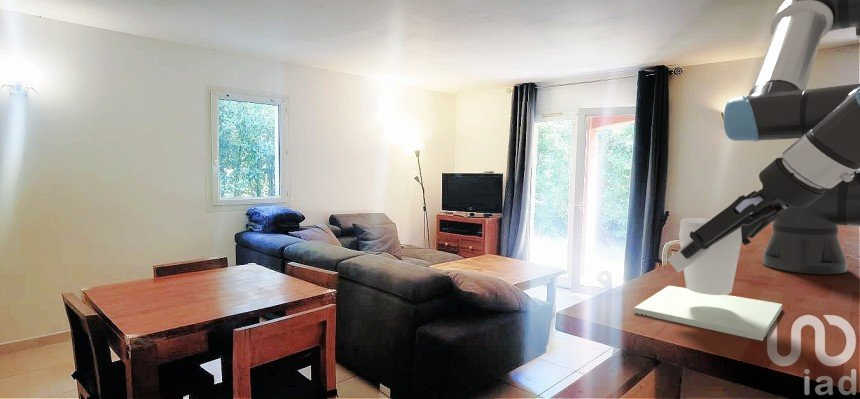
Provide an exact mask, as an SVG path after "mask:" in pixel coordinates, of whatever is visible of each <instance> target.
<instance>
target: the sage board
mask: <svg viewBox="0 0 860 399" xmlns="http://www.w3.org/2000/svg"><path fill="white" fill-rule="evenodd" d="M782 310H783V304H782V303H777V302H772V301H766V300H761V299H753V298H748V297H742V296H735V295H730V294H726V295H709V294H702V293H697V292H694V291H691V290H689V289H688V288H687V287H680V286H674V285H667V286H665V287H664V288H663V289H661V290H660V291H658V292H656V293H655V294H653V295H652V296H650V297H649V298H646V299H645V300H644V301H642V302H640V303H639V304H638V305H635V306H634V307H633V312H634V313H633V314H636V313H638V314H637V315H641V314H643V315H642V316H645V315H647V316H646V317H650V316H651V317H650V318H655V319H660V320H664V321H668V322H673V323H679V324H683V325H687V326H692V327H696V328H701V329H706V330H711V331H715V332H720V333H725V334H727V335H728V334H729V335H734V336H738V337H742V338H747V339H752V340H756V341H761V342H763V341H764V339H765V338H766V336H767V335H768V333H769V331H770V330H771V328H772V327H771V326H773V325H774V323H775V322H776V320H777V319H778V317H779V316H780V313H781V312H782ZM774 321H775V322H774ZM772 324H773V325H772ZM770 327H771V328H770ZM769 329H770V330H769ZM768 330H769V331H768ZM767 332H768V333H767ZM766 334H767V335H766ZM764 337H765V338H764Z"/></svg>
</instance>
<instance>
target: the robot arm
mask: <svg viewBox="0 0 860 399" xmlns="http://www.w3.org/2000/svg"><path fill="white" fill-rule="evenodd" d="M849 28H855V37H856V38H857V39H859V40H860V0H785V1H784V2H782V4H781V5H780V6H779V7H778V9H777V10H776V12H775V14H774V15H773V18H772V21H771V23H770V33H771V38H770V40H769V43H768V46H767V47H766V51H765V54H764V55H763V58H762V61H761V63H760V66H759V68H758V71H757V73H756V75H755V78H754V81H753V83H752V86H751V88H750V90H749V93H748V95H746V94H745V95H742V96H739V97H732V98H731V99H729V100H728V101H727V102H726V104H725V107H724V110H723V126H724V132H725V134H726V136H727V138H728V139H730V140H731V141H734V142H735V141H737V142H738V141H740V142H741V141H753V142H759V141H777V140H790V139H791V140H792V139H797V140H796V141H795V142H793V143H792V144H791V145H790V146H789V147H788V148H786V149H785V150H784V151H782V155H781V156H782V157H777V158H775V159H774V160H773V161H772V162H771V163H770V164H768V165H767V166H765V168H763V169H762V170H761V171H760V173H759V175H758V178H759V181H760V183H761V185H762V188H761V189H759V190H758V191H756V190H753V191H751V192H750V193H749V194H747V195H744V194H743V195H740V196H738V198H737V199H735V200H734V201H733V202H732V203H731V204H730V205H728V206H727V207H726V208H724V209H723V210H722V211H721V212H719V213H718V214H717V215H715V216H714V217H711V218H712V219H711V220H710V221H708V222H707V223H705V224H704V225H703V226H701V227H700V228H699V229H697V230H696V231H695V232H693V231H692V232H690V236H689V237H690V238H691V240H690V241H689V242H688V243H686V244H685V245H684V246H683V247H682V248H681V247H680V248H679V249H678V250H676V252H674V253H673V254H672V255H671V256H669V257H668V258H667V261H668V262H669V263H670V265H671V266H672V268H674V270H675V271H676V273H681V272H682V271H684V269H685V268H686V267H687V266H689V265H690V264H691V263H692V262H694V261H695V260H696V259H698V258H699V257H700V256H701V255H703V254H704V253H705V252H706V251H708V250H709V249H708V248H709V247H710V246H711V245H713V244H715V243H716V242H718V241H719V240H721V239H723V238H724V237H726V236H727V235H729V234H731V233H732V232H734V231H735V230H737V229H739V228H740V227H741V234H742V243H741V244H743V245H744V246H747V245H750V243H752V241H751V240H750V239H752V238H755V237H756V236H757V235H758V234H759V233H760V232H762V231H763V230H764V229H765V228H766V227H768V226H769V225H770V224H771V223H772V233H771V236H770V238H769V240H768V242H767V245H766V247H765V249H764V251H763V254H762V264H763V265H764V266H766V267H769V268H772V269H775V270H779V271H780V270H781V271H787V272H791V273H799V274H809V275H841V274H845V273H847V270H848V261H847V259H846V258H847V257H846V256H845V253H844V250H843V247H842V244H841V243H840V240H839V236H838V235H839V232H838V231H839V226H845V227H848V226H849V227H860V83H854V84H844V85H837V86H827V87H818V88H808V89H807V86H808V85H809V84H808V83H809V80H810V76H811V73H812V70H813V67H814V64H815V60H816V57H817V54H818V51H819V46H820V44H821V41H822V39H823V38H824V37H825V36H826V35H827V34H828V33H829V32H832V31H838V30H844V29H849Z"/></svg>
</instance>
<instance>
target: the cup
mask: <svg viewBox="0 0 860 399" xmlns="http://www.w3.org/2000/svg"><path fill="white" fill-rule="evenodd" d="M712 218H713V217H686V218H681V219H680V224H679V225H680V227H679V235H678V239H679V244H680V245H679V246H680V248H682V247H683V246H684V245H685V244H686V243H688V242H689V241H690V240H691V238H690V237H689V236H690V232H692V231H693V232H695V231H696V230H697V229H699V228H700V227H701V226H703V225H704V224H705V223H707V222H708V221H710V220H711V219H712ZM742 244H743V243H742V234H741V227H740V228H739V229H737V230H735V231H734V232H732V233H731V234H729V235H727V236H726V237H724V238H723V239H721V240H719V241H718V242H716V243H715V244H713V245H711V246H710V247H709V248H708V249H709V250H708V251H706V252H705V253H704V254H703V255H701V256H700V257H699V258H698V259H696V260H695V261H694V262H692V263H691V264H690V265H689V266H687V267H686V268H685V269H683V275H684V282H685V288H688V289H689V290H691V291H694V292H697V293H702V294H709V295H730V294H731V293H732V292H733V286H734V282H735V281H734V280H735V278H736V271H737V267H738V261H739V257H740V253H741V248H742Z"/></svg>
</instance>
